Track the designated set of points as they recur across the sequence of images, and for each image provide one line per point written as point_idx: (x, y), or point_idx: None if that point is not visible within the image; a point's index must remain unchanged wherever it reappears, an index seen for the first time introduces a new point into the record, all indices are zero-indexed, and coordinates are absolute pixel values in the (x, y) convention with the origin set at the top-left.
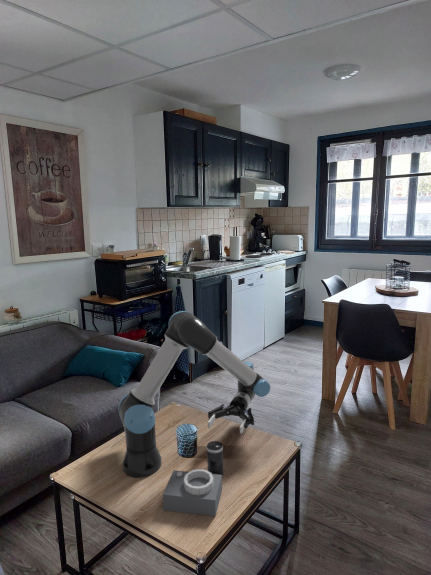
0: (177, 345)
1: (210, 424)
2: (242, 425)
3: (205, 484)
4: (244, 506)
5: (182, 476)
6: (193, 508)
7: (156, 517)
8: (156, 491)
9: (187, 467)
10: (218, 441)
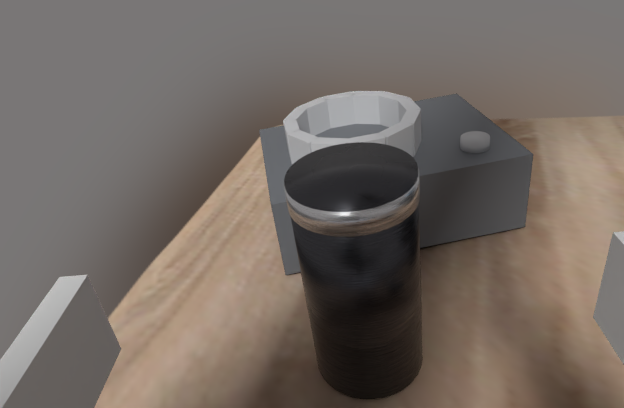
0: None
1: (621, 309)
2: (31, 320)
3: None
4: (172, 247)
5: (456, 148)
6: None
7: None
8: (562, 188)
9: (588, 346)
10: (343, 208)
